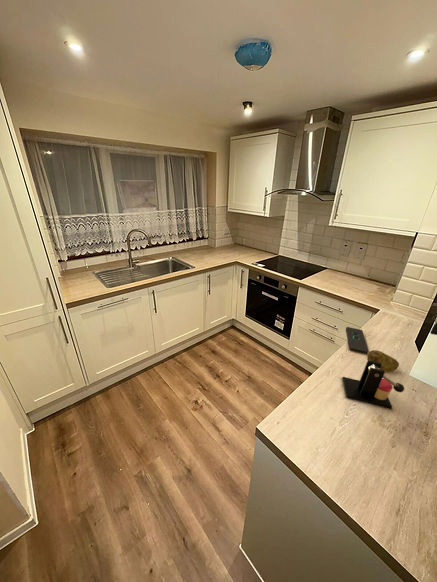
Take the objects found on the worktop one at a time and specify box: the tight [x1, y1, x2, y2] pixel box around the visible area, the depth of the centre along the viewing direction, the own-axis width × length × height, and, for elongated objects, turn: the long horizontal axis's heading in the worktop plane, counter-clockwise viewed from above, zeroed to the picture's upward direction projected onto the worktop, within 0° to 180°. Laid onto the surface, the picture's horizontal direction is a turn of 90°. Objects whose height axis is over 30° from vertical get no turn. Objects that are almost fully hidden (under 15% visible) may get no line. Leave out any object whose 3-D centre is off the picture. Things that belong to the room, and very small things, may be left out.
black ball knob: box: [368, 364, 405, 393], centre depth 86 cm, size 14×3×3 cm
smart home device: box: [345, 326, 369, 355], centre depth 121 cm, size 8×2×20 cm
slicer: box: [341, 360, 393, 410], centre depth 88 cm, size 15×10×14 cm, turn 72°
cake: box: [374, 378, 393, 400], centre depth 88 cm, size 6×6×5 cm
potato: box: [366, 349, 400, 373], centre depth 102 cm, size 8×13×8 cm, turn 66°
